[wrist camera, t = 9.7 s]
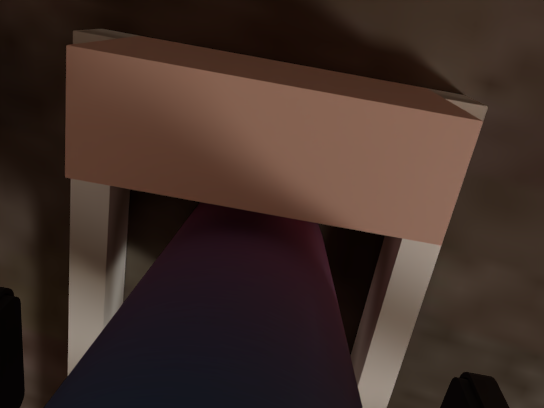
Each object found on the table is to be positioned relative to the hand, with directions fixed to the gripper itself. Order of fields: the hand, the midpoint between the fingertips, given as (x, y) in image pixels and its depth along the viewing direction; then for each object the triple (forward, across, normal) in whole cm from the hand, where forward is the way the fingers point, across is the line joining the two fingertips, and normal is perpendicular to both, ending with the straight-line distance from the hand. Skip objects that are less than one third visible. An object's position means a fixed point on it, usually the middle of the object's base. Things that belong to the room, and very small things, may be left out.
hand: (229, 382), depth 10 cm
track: (+7, 0, +7) cm, 10 cm away
